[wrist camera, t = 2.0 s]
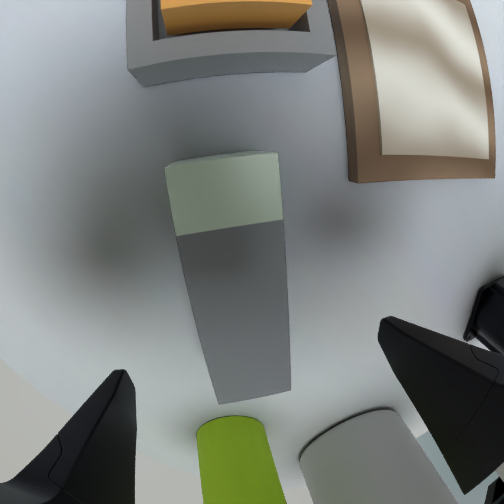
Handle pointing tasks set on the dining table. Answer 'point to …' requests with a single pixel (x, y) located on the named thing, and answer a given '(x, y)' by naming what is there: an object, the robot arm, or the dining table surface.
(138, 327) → the dining table surface
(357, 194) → the dining table surface
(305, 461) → the cylinder vase
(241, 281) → the grey green block
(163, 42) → the button housing
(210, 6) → the button
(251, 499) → the soap dispenser
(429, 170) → the board
